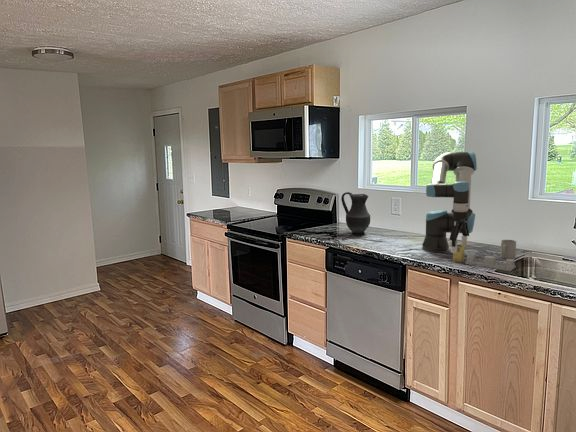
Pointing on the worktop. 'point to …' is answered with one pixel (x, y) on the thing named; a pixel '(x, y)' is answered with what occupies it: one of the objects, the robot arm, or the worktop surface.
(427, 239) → the robot arm
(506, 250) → the cup
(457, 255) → the block
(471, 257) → the rail
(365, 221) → the pitcher
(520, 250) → the worktop surface
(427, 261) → the worktop surface
